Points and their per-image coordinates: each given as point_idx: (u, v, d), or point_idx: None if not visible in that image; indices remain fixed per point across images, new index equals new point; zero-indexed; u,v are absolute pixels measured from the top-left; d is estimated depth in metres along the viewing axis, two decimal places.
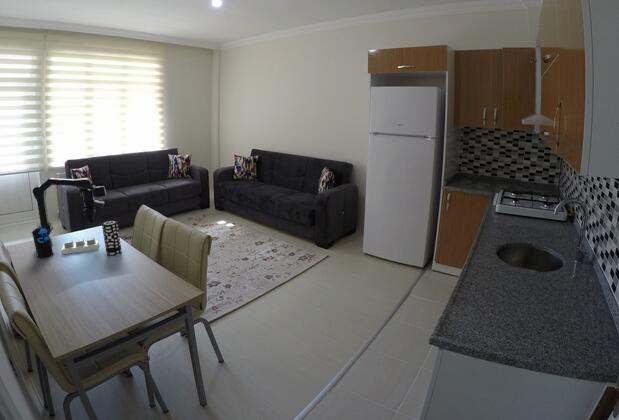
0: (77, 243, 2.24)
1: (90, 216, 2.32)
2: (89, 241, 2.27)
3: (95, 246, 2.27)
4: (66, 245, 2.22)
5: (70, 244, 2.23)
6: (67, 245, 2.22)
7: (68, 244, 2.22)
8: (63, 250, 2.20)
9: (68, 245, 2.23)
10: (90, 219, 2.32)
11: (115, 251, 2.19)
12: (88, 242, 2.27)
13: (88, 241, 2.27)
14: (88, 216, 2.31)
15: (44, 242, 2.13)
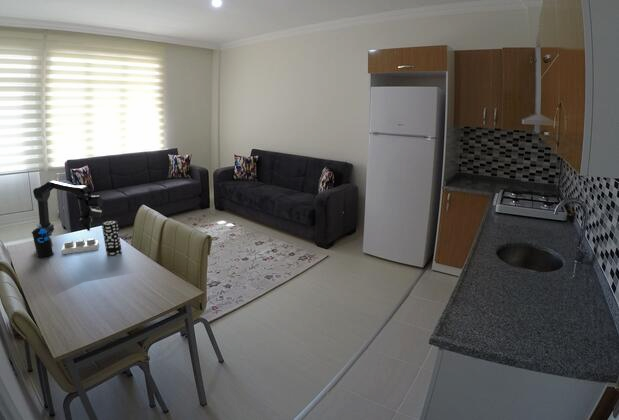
0: (77, 243, 2.24)
1: (87, 224, 2.23)
2: (89, 241, 2.27)
3: (95, 246, 2.27)
4: (66, 245, 2.22)
5: (70, 244, 2.23)
6: (67, 245, 2.22)
7: (68, 244, 2.22)
8: (63, 250, 2.20)
9: (68, 245, 2.23)
10: (87, 227, 2.24)
11: (115, 251, 2.19)
12: (88, 242, 2.27)
13: (88, 241, 2.27)
14: (85, 224, 2.23)
15: (44, 242, 2.13)
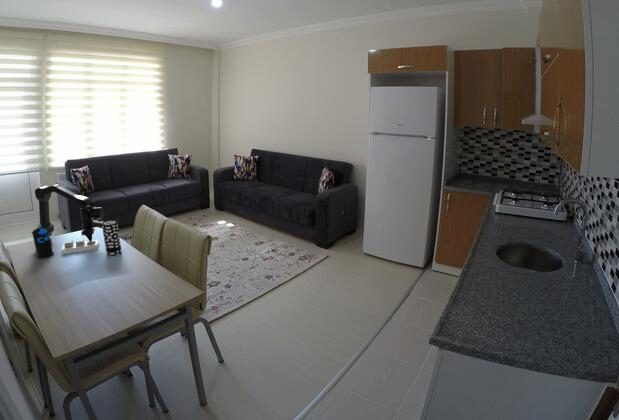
0: (77, 243, 2.24)
1: (89, 235, 2.27)
2: (89, 243, 2.27)
3: (95, 246, 2.27)
4: (66, 245, 2.22)
5: (70, 244, 2.23)
6: (67, 245, 2.22)
7: (68, 244, 2.22)
8: (63, 250, 2.20)
9: (68, 245, 2.23)
10: (89, 238, 2.27)
11: (115, 251, 2.19)
12: (88, 244, 2.27)
13: (88, 243, 2.27)
14: (87, 235, 2.26)
15: (44, 242, 2.13)
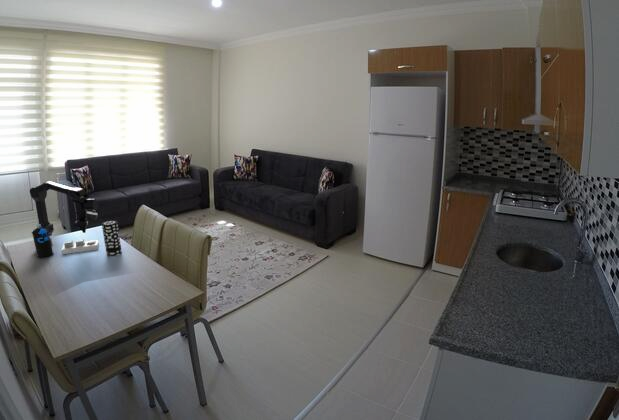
0: (77, 243, 2.24)
1: (83, 226, 2.24)
2: (89, 243, 2.28)
3: (95, 246, 2.27)
4: (66, 245, 2.22)
5: (70, 244, 2.23)
6: (67, 245, 2.22)
7: (68, 244, 2.22)
8: (63, 250, 2.20)
9: (68, 245, 2.23)
10: (83, 229, 2.25)
11: (115, 251, 2.19)
12: (88, 244, 2.27)
13: (89, 244, 2.27)
14: (81, 226, 2.23)
15: (44, 242, 2.13)
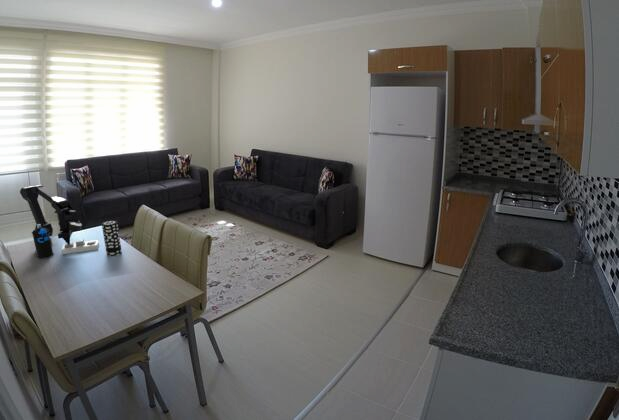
0: (77, 243, 2.24)
1: (67, 237, 2.22)
2: (89, 243, 2.28)
3: (95, 246, 2.27)
4: (66, 247, 2.22)
5: (70, 246, 2.23)
6: (68, 246, 2.23)
7: (68, 246, 2.23)
8: (63, 250, 2.20)
9: None
10: (67, 241, 2.22)
11: (115, 251, 2.19)
12: (88, 244, 2.27)
13: (89, 244, 2.27)
14: (64, 238, 2.21)
15: (44, 242, 2.13)
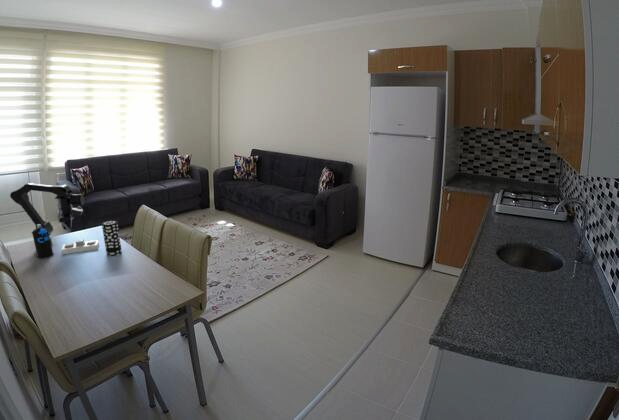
0: (77, 243, 2.24)
1: (68, 222, 2.28)
2: (89, 243, 2.28)
3: (95, 246, 2.27)
4: (66, 247, 2.22)
5: (70, 246, 2.23)
6: None
7: (68, 246, 2.23)
8: (63, 250, 2.20)
9: None
10: (68, 225, 2.29)
11: (115, 251, 2.19)
12: (88, 244, 2.27)
13: (89, 244, 2.27)
14: (66, 222, 2.27)
15: (44, 242, 2.13)
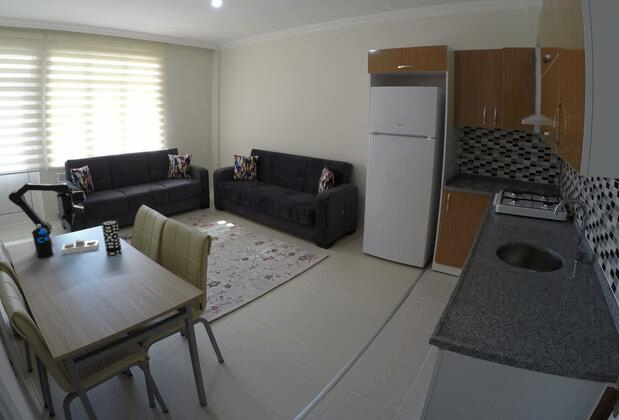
0: (77, 243, 2.24)
1: (69, 219, 2.32)
2: (89, 243, 2.28)
3: (95, 246, 2.27)
4: (66, 247, 2.22)
5: (70, 246, 2.23)
6: None
7: (68, 246, 2.23)
8: (63, 250, 2.20)
9: None
10: (69, 222, 2.33)
11: (115, 251, 2.19)
12: (88, 244, 2.27)
13: (89, 244, 2.27)
14: (67, 219, 2.31)
15: (44, 242, 2.13)
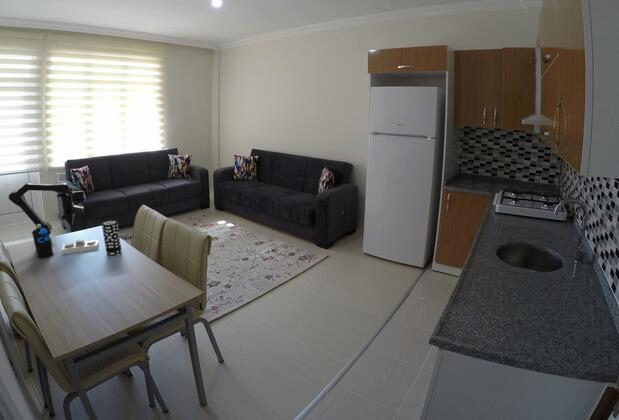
0: (77, 243, 2.24)
1: (69, 219, 2.32)
2: (89, 243, 2.28)
3: (95, 246, 2.27)
4: (66, 247, 2.22)
5: (70, 246, 2.23)
6: None
7: (68, 246, 2.23)
8: (63, 250, 2.20)
9: None
10: (69, 222, 2.33)
11: (115, 251, 2.19)
12: (88, 244, 2.27)
13: (89, 244, 2.27)
14: (67, 219, 2.31)
15: (44, 242, 2.13)
